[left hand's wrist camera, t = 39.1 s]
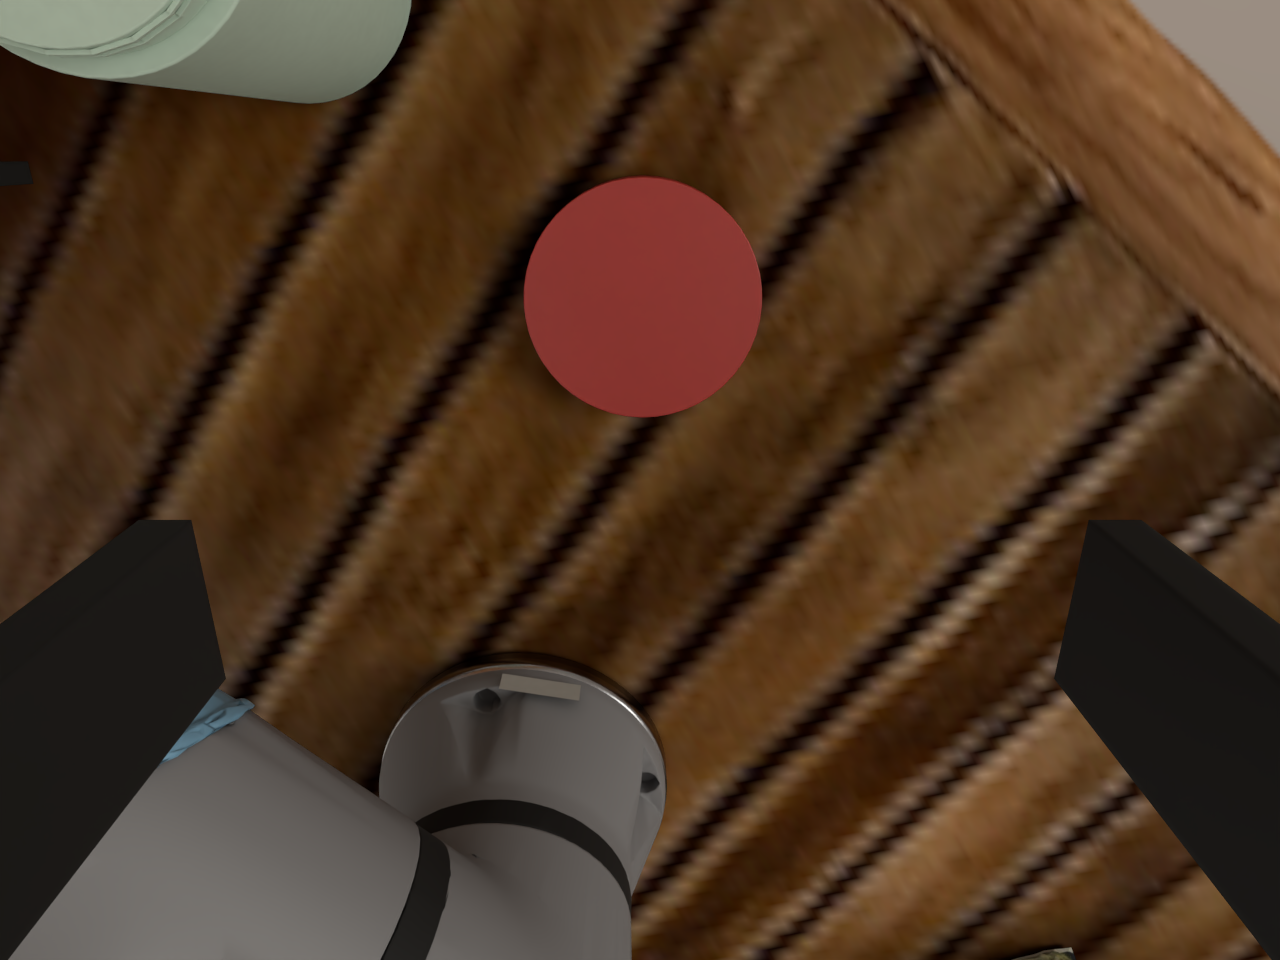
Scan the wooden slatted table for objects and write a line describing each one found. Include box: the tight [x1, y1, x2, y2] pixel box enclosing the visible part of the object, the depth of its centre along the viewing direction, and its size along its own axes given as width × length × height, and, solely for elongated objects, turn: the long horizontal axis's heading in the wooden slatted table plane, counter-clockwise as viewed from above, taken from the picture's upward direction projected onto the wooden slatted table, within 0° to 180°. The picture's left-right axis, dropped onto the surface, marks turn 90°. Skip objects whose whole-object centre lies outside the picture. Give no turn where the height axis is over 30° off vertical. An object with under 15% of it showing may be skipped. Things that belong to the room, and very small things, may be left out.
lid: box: [524, 175, 762, 417], centre depth 36 cm, size 10×10×2 cm
